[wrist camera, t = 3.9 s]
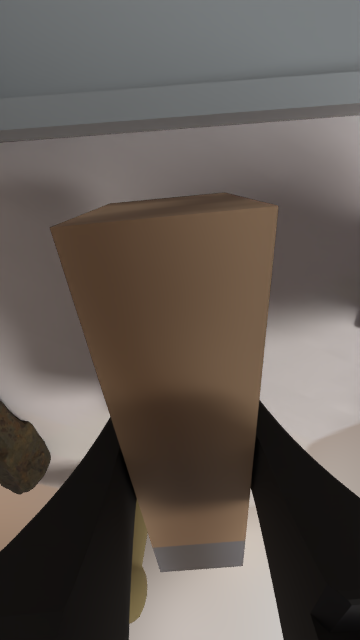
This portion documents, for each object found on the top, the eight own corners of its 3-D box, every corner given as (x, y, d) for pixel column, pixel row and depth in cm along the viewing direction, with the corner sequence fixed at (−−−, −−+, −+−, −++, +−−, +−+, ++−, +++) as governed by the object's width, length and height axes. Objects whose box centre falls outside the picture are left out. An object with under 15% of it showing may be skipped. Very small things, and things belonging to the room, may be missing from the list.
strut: (224, 192, 9) (278, 205, 4) (223, 464, 17) (242, 565, 12) (110, 203, 9) (49, 227, 4) (163, 468, 17) (160, 572, 12)
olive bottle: (167, 478, 29) (166, 624, 20) (127, 495, 31) (108, 638, 21) (134, 453, 27) (114, 607, 17) (92, 473, 28) (52, 624, 19)
